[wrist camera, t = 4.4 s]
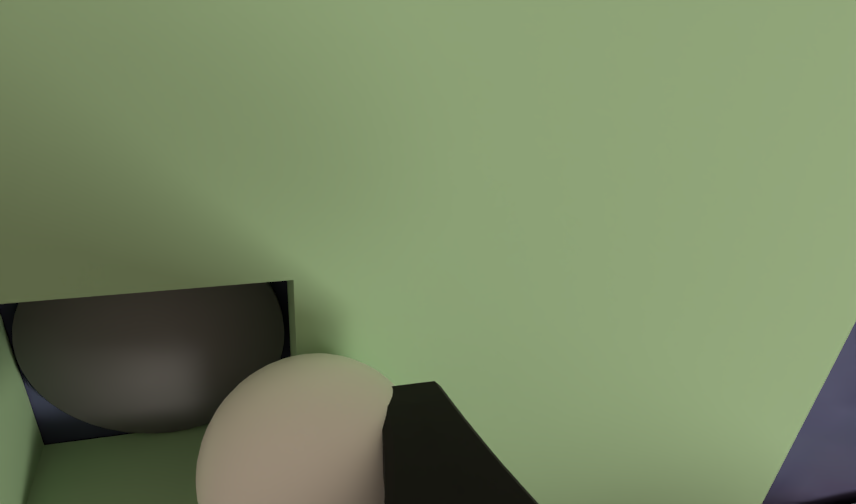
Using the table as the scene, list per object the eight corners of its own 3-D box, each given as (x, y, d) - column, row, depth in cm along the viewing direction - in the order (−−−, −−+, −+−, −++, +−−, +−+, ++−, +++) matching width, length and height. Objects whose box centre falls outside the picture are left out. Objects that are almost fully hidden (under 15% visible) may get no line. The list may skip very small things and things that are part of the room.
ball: (164, 563, 10) (302, 419, 12) (342, 688, 8) (455, 501, 11) (119, 418, 8) (291, 282, 10) (338, 552, 7) (476, 362, 9)
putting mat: (702, 467, 18) (749, 528, 17) (-25, 598, 14) (-59, 700, 12) (912, -30, 12) (1024, -8, 10) (-370, -90, 7) (-547, -68, 5)
